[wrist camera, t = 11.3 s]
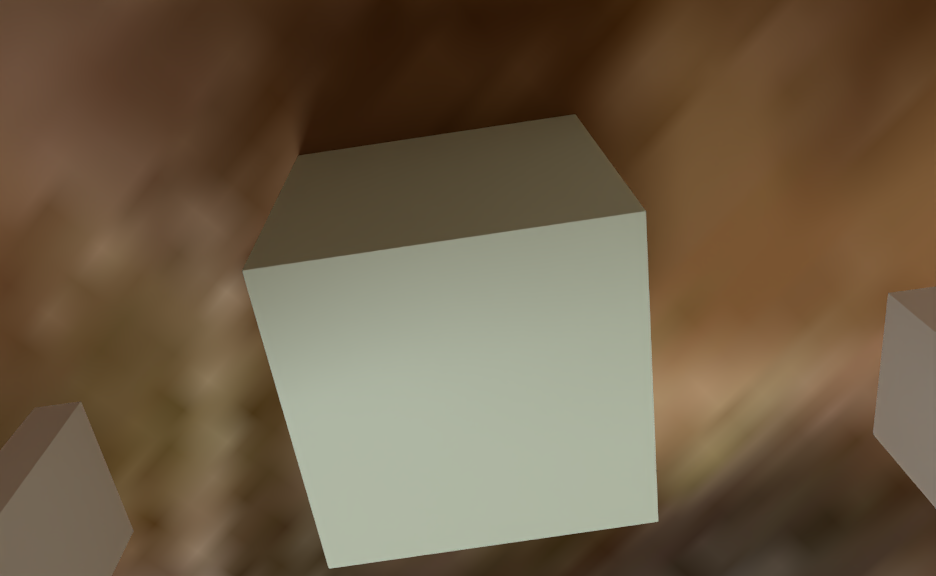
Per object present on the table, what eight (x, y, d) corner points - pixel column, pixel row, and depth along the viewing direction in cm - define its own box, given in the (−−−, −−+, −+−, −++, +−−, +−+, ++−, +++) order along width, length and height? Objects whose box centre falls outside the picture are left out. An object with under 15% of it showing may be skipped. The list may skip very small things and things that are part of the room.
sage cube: (298, 154, 17) (242, 270, 12) (574, 113, 17) (645, 211, 12) (354, 386, 20) (329, 569, 14) (593, 351, 20) (658, 521, 14)
